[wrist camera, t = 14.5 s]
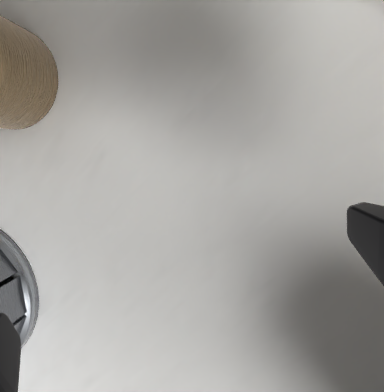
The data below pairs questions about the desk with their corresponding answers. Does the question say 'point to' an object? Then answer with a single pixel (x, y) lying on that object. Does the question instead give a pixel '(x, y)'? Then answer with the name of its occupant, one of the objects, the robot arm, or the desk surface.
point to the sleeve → (17, 288)
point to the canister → (24, 77)
